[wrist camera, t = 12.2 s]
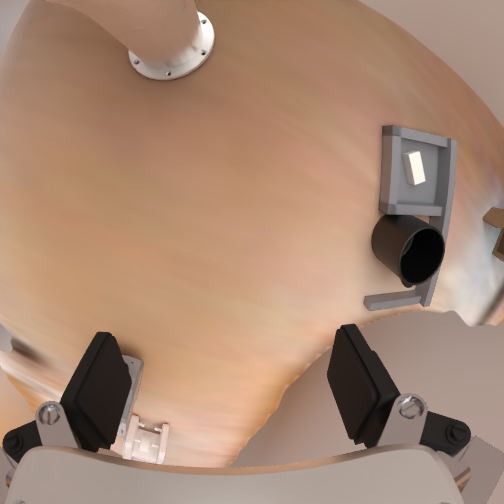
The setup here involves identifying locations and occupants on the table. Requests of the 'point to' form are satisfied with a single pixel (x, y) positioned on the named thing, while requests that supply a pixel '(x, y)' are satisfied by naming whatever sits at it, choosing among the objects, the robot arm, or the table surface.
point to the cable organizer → (145, 442)
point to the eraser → (413, 167)
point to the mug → (408, 247)
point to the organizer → (416, 196)
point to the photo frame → (498, 220)
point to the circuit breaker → (136, 373)
